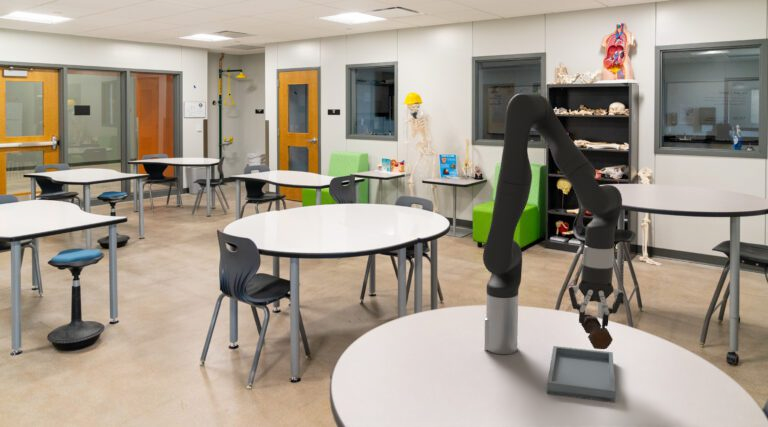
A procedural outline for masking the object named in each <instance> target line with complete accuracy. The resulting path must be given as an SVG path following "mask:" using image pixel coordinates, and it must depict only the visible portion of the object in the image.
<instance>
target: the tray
mask: <svg viewBox="0 0 768 427" xmlns="http://www.w3.org/2000/svg"><path fill="white" fill-rule="evenodd" d="M613 353H614V352H612V351H604V350H597V349H586V348H585V349H584V348H576V347H568V346H567V347H565V346H558V345H557V346H556V345H553V347H552V353H551V357H550V358H551V359H550V364H549V369H548V376H547V377H548V378H547V382H546V394H547V395H556V396H562V397H563V396H564V397H570V398H579V399H587V400H594V401H602V402H608V403H609V402H610V403H615V401H616V383H615V382H616V380H615V368H614V367H615V366H614V356H613V355H614V354H613Z"/></svg>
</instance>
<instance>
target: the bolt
mask: <svg viewBox="0 0 768 427" xmlns="http://www.w3.org/2000/svg"><path fill="white" fill-rule="evenodd" d="M582 328H583V330H584V332H585V333H586V334H589V335H588V336H587V339H588V340H589V342H590V344H591V345H592V347H593V349H594V350H606V349H608V348H609V347H610V345H612V342H613V337H612V335H611V334H610V332H609V329H608V328H607V327H605V328H602V323H600V321H599V319H598V317H597V316H595V315H591V314H586V313H585V320H584V326H582Z"/></svg>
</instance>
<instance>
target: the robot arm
mask: <svg viewBox="0 0 768 427" xmlns="http://www.w3.org/2000/svg"><path fill="white" fill-rule="evenodd" d="M504 124H505V125H504V138H503V139H504V140H503V147H502V153H501V154H502V155H501V160H500V166H499V167H500V168H499V173H498V177H497V183H496V187H495V188H496V189H495V196H494V203H493V208H492V216H491V223H490V226H489V231H488V234H487V238H486V241H485V244H484V245H485V246H484V248H483V252H482V262H483V265H484V267H485V269H486V270H487V271H488V272H489V273H491V275H490V277H489V280H488V281H487V284H486V301H485V302H486V303H485V304H486V307H485V308H486V310H485V311H486V312H485V314H486V316H485V319H484V351H487V350H488V352H490V353H493V354H496V355H511V354H513V353H516V352H517V350H518V332H519V331H518V330H519V329H518V328H519V326H518V324H519V320H518V319H519V289H520V285H521V283H522V271H523V252H522V251H523V250H522V248H521V246H520V244H518V242H517V241H515V240H514V238H515V233H516V228H517V226H518V224H519V222H520V220H521V218H522V216H523V213H524V211H525V209H526V206H527V204H528V201H529V197H530V192H531V187H532V182H533V172H532V167H531V163H530V159H529V154H528V153H529V152H528V147H529V139H530V134H531V130H532V129H534V130H535V131H536V132H537V133H538V134H539V135H540V136H541V137H542V138H543V139H544V140H545V142H546V144H547V145H548V147H549V149H550V152H551V156H552V158H553V160H554V163H555V165H556V167H557V168H558V170H560V172H561V173H562V175H563V176H564V177H565V178H566V180H567V181H568V182H569V183H570V185H571V186H572V188H573V191H574V193H575V195H576V198H577V199H578V201H579V203H580V205H581V207H583V208H584V210H585V211H586V212H587V213H589V214H590V215H593V217H592V220H591V221H590V222H589V223H588V224H587V225H586V228H585V232H584V234H585V236H584V246H583V251H582V258H581V261H582V262H581V264H582V265H581V275H580V282H579V283H578V284H577V285H573V284H569V286H568V289H567V290H568V293H569V298H570V302H571V306H572V309H573V310H576V311H578V313H579V315H578V323H579V324H580V325H581V326H582V327H583V326H584V320H585V315H586V309H587V306H588V305H589V302H597V303H600V304H601V307H602V310H603V312H602V317H601V318H602V321H601V328H606V327H608V325H609V319H610V318H609V317H610V315H611V314H614V315H615V314H617V313H618V310H619V308H620V305H621V303H622V300H623V299H624V296H625V294H624V290H623V289H617V288H614V286H613V275H614V274H613V273H614V262H615V253H614V249H615V231H616V228H617V225H618V223H619V219H620V216H621V212H622V207H623V198H622V193H621V191H620V190H619V189H618V187H616V186H614V185H610V184H604V185H600V184H599V183H598V181H597V179H596V176H597V170H596V168H595V166H594V165H593V164H592V163H591V162H590V160H589V159H588V158H587V157H586V156H585V154H584V153H583V152H582V151H581V149H579V147H578V146H577V144H576V143H575V142H574V141H573V139H572V138H571V137H570V135H569V133H568V132H567V131H566V129H565V128H564V126H563V124H562V122H561V121H560V119H559V118H558V116H557V114H556V112H555V110H554V108H553V107H552V106H551V103H550V102H549V100H547V98H546V97H545V96H543V95H541V94H537V93H517V94H514V96H512V98H511V99H510V100H509V101H508V104H507V107H506V112H505V122H504ZM578 291H580V292H581V294H582V295H583V298H582V301H581V303H578V301H577V294H578ZM611 294H613V298H614V300H613V304H612V305H611V306H610V307H609V304H608V301H607V299H608V298H609V297H610V296H611Z"/></svg>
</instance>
